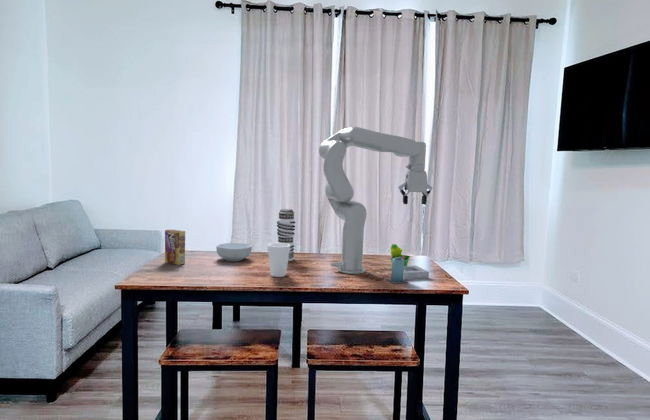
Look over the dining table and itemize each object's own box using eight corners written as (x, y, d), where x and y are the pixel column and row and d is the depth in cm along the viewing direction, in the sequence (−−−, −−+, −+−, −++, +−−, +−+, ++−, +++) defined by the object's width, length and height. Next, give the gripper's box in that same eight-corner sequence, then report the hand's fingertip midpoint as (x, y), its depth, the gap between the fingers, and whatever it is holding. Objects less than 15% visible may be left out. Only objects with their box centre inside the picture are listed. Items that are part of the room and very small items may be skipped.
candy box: (185, 263, 201) (185, 230, 199) (178, 265, 197) (178, 231, 196) (171, 261, 205) (171, 228, 203) (164, 262, 201) (164, 229, 199)
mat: (392, 284, 178) (392, 283, 178) (385, 279, 185) (385, 278, 185) (408, 283, 180) (408, 282, 180) (400, 278, 187) (400, 277, 187)
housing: (403, 279, 186) (403, 272, 185) (391, 272, 197) (391, 266, 197) (428, 278, 189) (428, 271, 189) (415, 271, 201) (415, 265, 200)
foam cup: (264, 272, 189) (265, 243, 188) (285, 271, 193) (285, 242, 191) (270, 278, 180) (271, 247, 179) (292, 276, 184) (292, 246, 183)
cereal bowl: (257, 261, 211) (258, 246, 210) (226, 265, 201) (226, 250, 200) (241, 254, 224) (241, 241, 224) (210, 258, 214) (210, 244, 213)
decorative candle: (290, 256, 224) (291, 208, 221) (297, 260, 215) (298, 210, 213) (273, 257, 220) (274, 208, 217) (279, 261, 212) (281, 210, 209)
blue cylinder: (394, 282, 180) (395, 259, 179) (389, 279, 184) (390, 256, 183) (405, 281, 181) (406, 259, 180) (399, 278, 186) (401, 256, 185)
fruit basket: (406, 271, 201) (407, 247, 200) (387, 269, 204) (388, 245, 203) (409, 266, 212) (410, 243, 211) (391, 264, 215) (392, 241, 214)
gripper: (403, 167, 200) (401, 204, 202) (437, 168, 205) (434, 205, 207) (396, 167, 207) (394, 203, 209) (428, 168, 212) (426, 203, 214)
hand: (414, 204), depth 208 cm, fingers open, 9 cm apart
